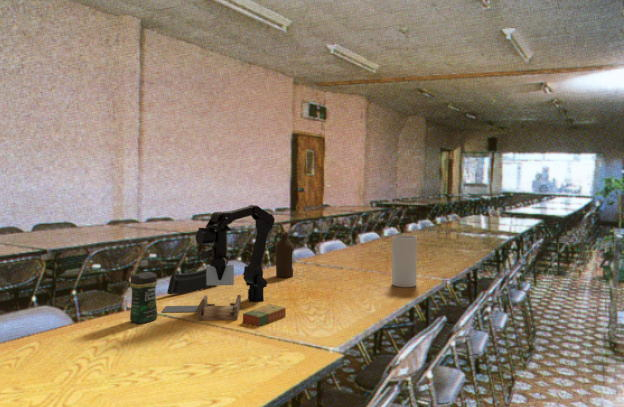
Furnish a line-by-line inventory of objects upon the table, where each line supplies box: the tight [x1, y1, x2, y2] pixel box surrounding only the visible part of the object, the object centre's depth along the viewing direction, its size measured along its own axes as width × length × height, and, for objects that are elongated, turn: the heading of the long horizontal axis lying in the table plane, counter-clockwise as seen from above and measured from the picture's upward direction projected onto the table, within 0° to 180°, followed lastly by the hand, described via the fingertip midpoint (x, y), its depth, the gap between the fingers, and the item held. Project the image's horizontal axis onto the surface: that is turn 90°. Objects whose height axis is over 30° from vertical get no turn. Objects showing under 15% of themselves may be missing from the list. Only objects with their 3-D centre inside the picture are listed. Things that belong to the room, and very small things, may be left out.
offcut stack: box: [203, 305, 234, 316], centre depth 188 cm, size 12×6×4 cm, turn 95°
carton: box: [242, 304, 287, 328], centre depth 183 cm, size 8×16×4 cm, turn 144°
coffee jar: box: [129, 271, 158, 324], centre depth 181 cm, size 10×8×19 cm
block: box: [205, 264, 235, 286], centre depth 198 cm, size 11×3×8 cm, turn 95°
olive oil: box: [274, 231, 295, 279], centre depth 263 cm, size 11×11×25 cm
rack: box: [196, 294, 242, 321], centre depth 192 cm, size 15×19×5 cm
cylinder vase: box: [391, 234, 418, 288], centre depth 243 cm, size 12×12×25 cm
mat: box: [160, 304, 199, 313], centre depth 197 cm, size 16×9×1 cm, turn 95°
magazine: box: [166, 268, 216, 295], centre depth 229 cm, size 17×3×30 cm
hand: (220, 279), depth 198 cm, fingers closed on block, 3 cm apart
